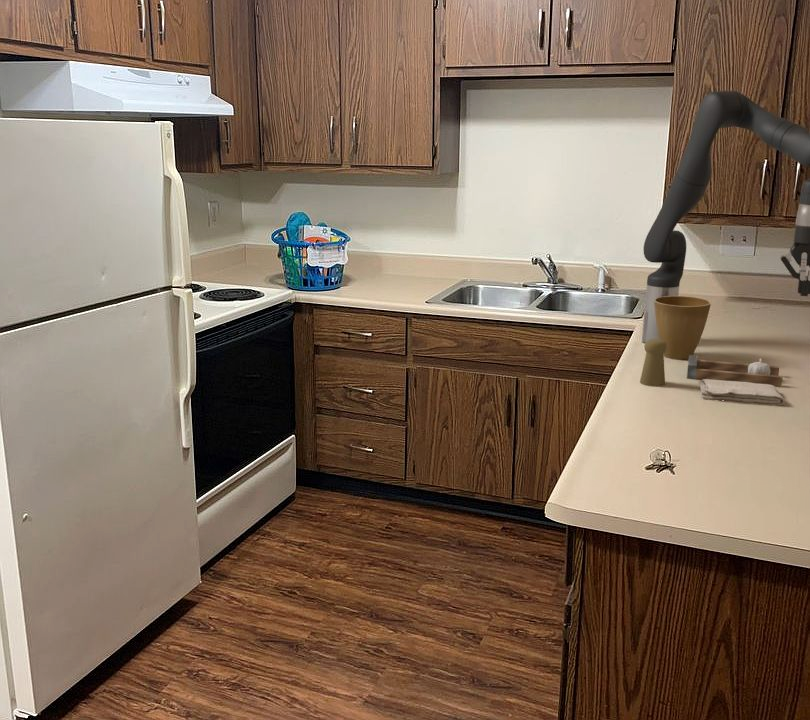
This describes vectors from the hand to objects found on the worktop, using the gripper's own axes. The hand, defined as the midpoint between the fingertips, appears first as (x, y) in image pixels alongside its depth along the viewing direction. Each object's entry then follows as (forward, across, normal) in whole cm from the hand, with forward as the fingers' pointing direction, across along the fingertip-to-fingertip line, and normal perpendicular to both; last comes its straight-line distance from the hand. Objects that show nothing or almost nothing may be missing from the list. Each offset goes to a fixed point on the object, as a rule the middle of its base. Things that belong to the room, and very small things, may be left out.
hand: (803, 295), depth 199 cm
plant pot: (+22, -28, +17) cm, 40 cm away
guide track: (+22, -14, 0) cm, 26 cm away
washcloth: (+23, -13, -17) cm, 31 cm away
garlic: (+22, -8, 0) cm, 24 cm away
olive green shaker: (+22, -33, -13) cm, 42 cm away
